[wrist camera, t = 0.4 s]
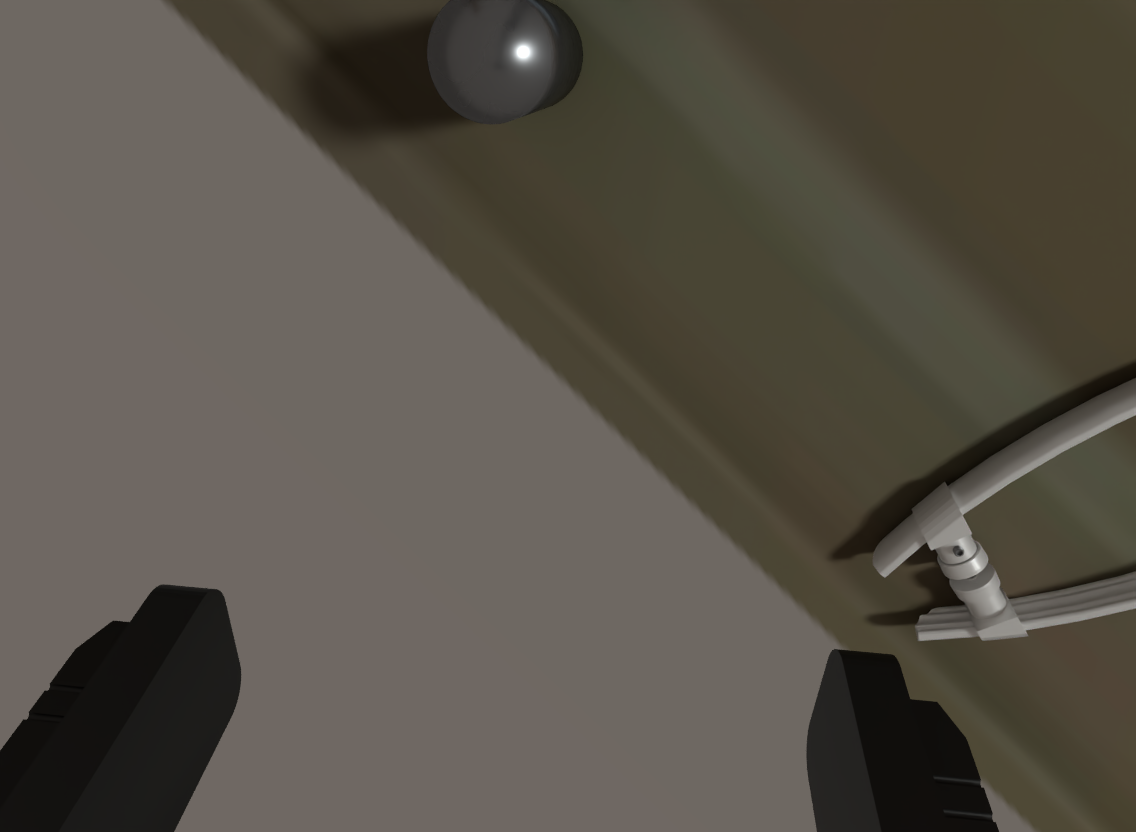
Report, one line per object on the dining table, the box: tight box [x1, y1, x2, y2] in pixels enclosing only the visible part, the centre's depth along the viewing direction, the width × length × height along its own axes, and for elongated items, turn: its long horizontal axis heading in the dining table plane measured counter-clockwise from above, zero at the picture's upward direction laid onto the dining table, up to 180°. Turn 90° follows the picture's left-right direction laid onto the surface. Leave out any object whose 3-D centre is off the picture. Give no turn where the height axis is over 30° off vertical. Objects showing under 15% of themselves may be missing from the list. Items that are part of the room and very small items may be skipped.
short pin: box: [427, 0, 583, 124], centre depth 31 cm, size 4×4×7 cm
